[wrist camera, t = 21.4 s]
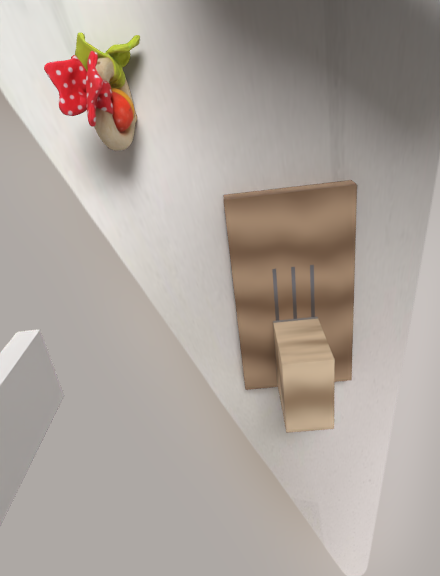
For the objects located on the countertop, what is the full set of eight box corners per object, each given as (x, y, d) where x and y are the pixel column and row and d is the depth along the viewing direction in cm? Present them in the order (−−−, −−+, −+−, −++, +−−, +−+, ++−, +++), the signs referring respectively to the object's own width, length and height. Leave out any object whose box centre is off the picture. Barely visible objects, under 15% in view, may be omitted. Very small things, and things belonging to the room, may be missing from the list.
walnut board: (223, 194, 43) (223, 200, 42) (351, 180, 43) (357, 184, 41) (244, 379, 54) (245, 389, 52) (347, 369, 53) (351, 380, 52)
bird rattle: (164, 106, 42) (131, 2, 35) (163, 173, 34) (121, 58, 28) (104, 121, 42) (60, 21, 35) (91, 189, 35) (32, 81, 28)
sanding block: (273, 320, 48) (282, 364, 41) (317, 316, 48) (334, 359, 40) (277, 383, 52) (286, 432, 45) (318, 379, 52) (334, 428, 44)
